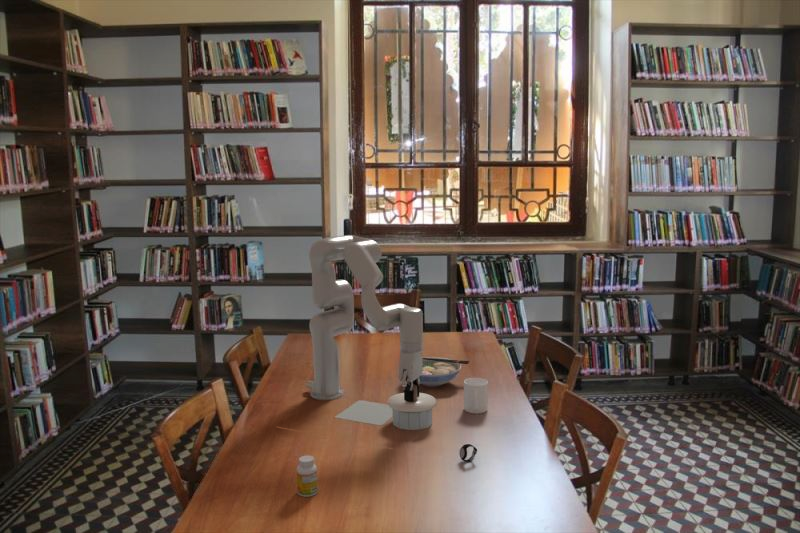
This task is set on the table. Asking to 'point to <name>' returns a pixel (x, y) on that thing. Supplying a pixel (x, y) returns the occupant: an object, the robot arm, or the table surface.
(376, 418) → the mat
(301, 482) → the supplement bottle
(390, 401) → the lid
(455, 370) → the ramen bowl
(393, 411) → the bowl
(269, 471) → the table surface
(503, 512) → the table surface
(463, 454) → the smartwatch
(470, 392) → the mug
